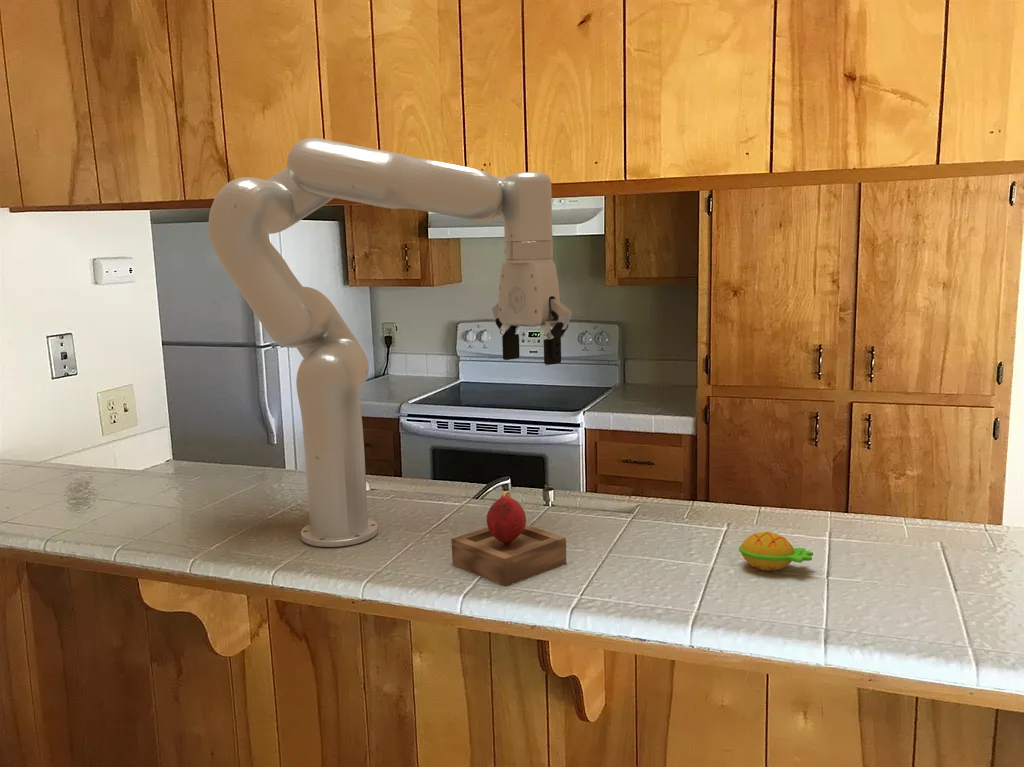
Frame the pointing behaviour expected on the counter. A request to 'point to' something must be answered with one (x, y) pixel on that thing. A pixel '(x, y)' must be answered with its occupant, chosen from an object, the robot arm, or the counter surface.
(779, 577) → the counter surface
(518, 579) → the base
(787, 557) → the toy pineapple
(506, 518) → the onion
